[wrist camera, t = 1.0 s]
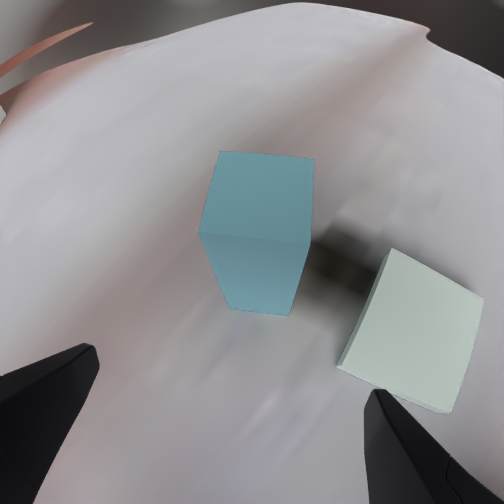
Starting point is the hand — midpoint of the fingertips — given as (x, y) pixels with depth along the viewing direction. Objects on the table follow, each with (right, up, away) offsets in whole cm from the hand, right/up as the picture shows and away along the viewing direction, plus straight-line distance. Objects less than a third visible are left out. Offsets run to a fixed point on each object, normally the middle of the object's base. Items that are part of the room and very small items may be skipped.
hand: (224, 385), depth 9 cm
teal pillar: (+2, +1, +15) cm, 16 cm away
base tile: (+14, -3, +13) cm, 19 cm away
